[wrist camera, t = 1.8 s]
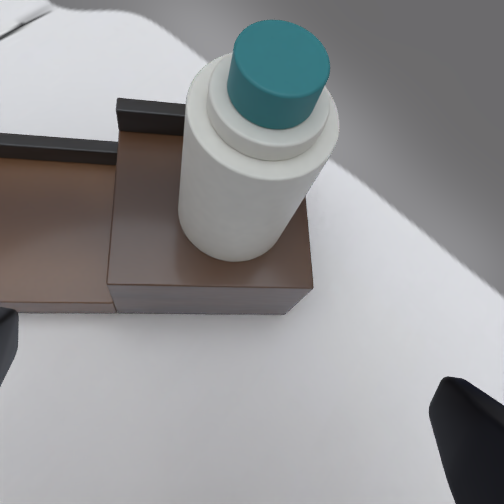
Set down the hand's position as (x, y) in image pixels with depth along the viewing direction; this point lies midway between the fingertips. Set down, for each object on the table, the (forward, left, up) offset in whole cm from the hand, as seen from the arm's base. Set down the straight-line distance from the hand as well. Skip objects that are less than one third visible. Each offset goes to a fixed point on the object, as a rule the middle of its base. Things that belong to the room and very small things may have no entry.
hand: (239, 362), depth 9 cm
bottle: (+7, -3, -8) cm, 11 cm away
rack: (+9, +1, -13) cm, 16 cm away
